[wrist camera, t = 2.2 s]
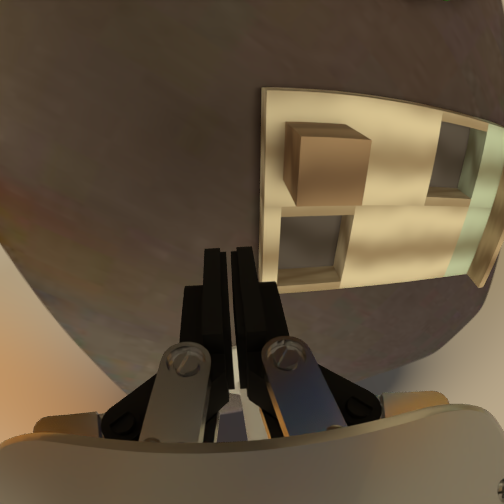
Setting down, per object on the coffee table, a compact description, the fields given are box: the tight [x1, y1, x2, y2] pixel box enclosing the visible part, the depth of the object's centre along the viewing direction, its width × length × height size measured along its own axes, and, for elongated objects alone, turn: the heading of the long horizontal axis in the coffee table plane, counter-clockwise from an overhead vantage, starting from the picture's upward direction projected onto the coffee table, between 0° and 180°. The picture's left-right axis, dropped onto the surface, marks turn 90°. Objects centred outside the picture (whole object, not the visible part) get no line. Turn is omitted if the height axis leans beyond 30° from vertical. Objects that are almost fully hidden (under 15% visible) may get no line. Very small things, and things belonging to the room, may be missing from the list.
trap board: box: [258, 87, 504, 294], centre depth 28 cm, size 20×29×6 cm
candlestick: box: [229, 346, 268, 441], centre depth 33 cm, size 13×13×30 cm
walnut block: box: [283, 121, 372, 207], centre depth 22 cm, size 5×5×5 cm
